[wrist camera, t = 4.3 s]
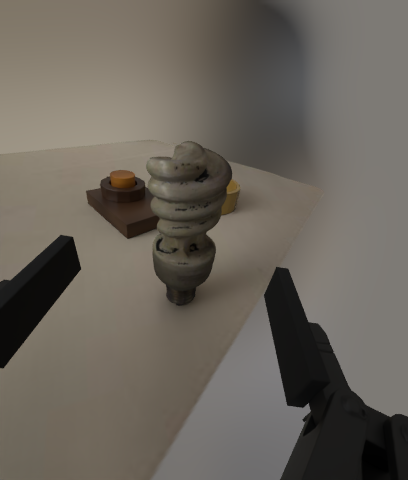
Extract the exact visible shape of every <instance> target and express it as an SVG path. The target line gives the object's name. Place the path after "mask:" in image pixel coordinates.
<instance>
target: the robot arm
mask: <svg viewBox="0 0 408 480" xmlns="http://www.w3.org/2000/svg"><path fill="white" fill-rule="evenodd" d="M80 270H81V266H80V262H79V259H78V255H77V251H76V247H75V243H74V239H73V237H70V236H64V235H60V236H59V237H58V238H57V239H56V240H55V241H54V242H53V243H51V244H50V245H49V246H48V247H47V248H46V249H45V250H44V251H43V252H41V253H40V254H39V255H38V256H37V257H36V258H35V259H34V260H33V261H32V262H30V263H29V264H28V265H27V266H26V267H25V268H24V269H23V270H22V271H20V272H19V273H18V274H17V275H16V276H15V277H14V278H13V279H12V280H3V281H1V282H0V368H4V367H5V366H6V364H7V363H8V362H9V360H10V359H11V358H12V357H13V355H14V354H15V353H16V352H17V350H18V349H19V348H20V346H21V345H22V344H23V343H24V341H25V340H26V339H27V337H28V336H29V335H30V334H31V332H32V331H33V330H34V329H35V327H36V326H37V325H38V323H39V322H40V321H41V320H42V318H43V317H44V316H45V314H46V313H47V312H48V311H49V309H50V308H51V307H52V306H53V304H54V303H55V302H56V300H57V299H58V298H59V297H60V295H61V294H62V293H63V291H64V290H65V289H66V288H67V286H68V285H69V284H70V283H71V281H72V280H73V279H74V277H75V276H76V275H77V274H78V272H79V271H80ZM264 298H265V302H266V307H267V312H268V316H269V321H270V326H271V331H272V335H273V340H274V345H275V349H276V354H277V359H278V364H279V368H280V373H281V378H282V383H283V388H284V392H285V397H286V402H287V405H288V406H295V407H302V408H303V407H305V406H306V405H307V404H308V403H309V406H310V410H311V412H310V413H309V414H308V415H307V416H305V417H304V419H303V421H304V422H305V421H306V422H305V424H304V427H303V429H302V431H301V433H300V436H299V438H298V441H297V443H296V445H295V447H294V449H293V452H292V454H291V456H290V459H289V461H288V463H287V465H286V468H285V470H284V472H283V475H282V477H281V479H280V480H408V417H407V416H404V415H402V414H395V415H393V416H392V417H389V416H387V415H385V414H383V413H381V412H379V411H376V410H374V409H372V408H370V407H368V406H367V405H365V403H364V402H363V400H362V399H361V398H360V397H359V396H358V395H357V394H356V393H354V392H353V391H351V389H350V387H349V386H348V384H347V381H346V379H345V377H344V375H343V372H342V370H341V368H340V365H339V363H338V360H337V358H336V356H335V354H334V353H333V349H332V347H331V345H330V342H329V340H328V337H327V335H326V333H325V332H324V330H323V329H322V328H321V327H320V325H319V324H316V323H309V322H308V320H307V318H306V315H305V312H304V309H303V307H302V304H301V301H300V299H299V296H298V293H297V291H296V288H295V286H294V283H293V280H292V278H291V275H290V272H289V270H288V269H286V268H280V267H276V269H275V272H274V274H273V276H272V278H271V281H270V283H269V285H268V287H267V290H266V292H265V294H264Z"/></svg>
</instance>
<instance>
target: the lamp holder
mask: <svg viewBox="0 0 408 480" xmlns="http://www.w3.org/2000/svg"><path fill="white" fill-rule="evenodd" d="M226 188H227V197H226V200H225V202H224V204H223V205H222V213H221V215H224V214H228V213H231V212H232V211H234V209H235V207H236V204H237V200H238V196H239V192H240V185H239V184H238V183H237V182H236V181H234V180H233V179H231V181H230V183H229V185H228V186H227V187H226Z"/></svg>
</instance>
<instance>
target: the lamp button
mask: <svg viewBox="0 0 408 480" xmlns="http://www.w3.org/2000/svg"><path fill="white" fill-rule="evenodd" d="M110 179H111V185H112V186H113V187H117V188H131V187H134V186H135V174H134V173H133V172H130V171H125V170H117V171H113V172H111V173H110Z"/></svg>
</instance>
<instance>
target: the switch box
mask: <svg viewBox="0 0 408 480" xmlns="http://www.w3.org/2000/svg"><path fill="white" fill-rule="evenodd" d="M100 186H101V188H99V189H94V190H88V191H86V193H87V199H88V204H90V205H91V206H92V207H93V208H94V209H95V210H96V211H97V212H98V213H100V214H101V215H102V216H103V217H104V218H105V219H106V220H107V221H109V222H110V223H111V224H112V225H113V226H114V227H115V228H116V229H117V230H119V231H120V232H121V233H122V234H123V235H124V236H125V237H126V238H131V237H134V236H136V235H139V234H142V233H145V232H147V231H150V230H153V229H156V228H157V223H158V221H159V220H160V218H159V217H158V216H157V215H156V214H154V213H153V211H152V210H151V201H152V199H153V198H154V197H155V196H153V195H152V194H151V193H150V191H149V189H148V188H146V187H145V182H144V181H143V180H141V179H139V178H137V177H135V186H134V187H131V188H117V187H113V186H112V185H111V179H110V177H107V178H105V179H103V180H101V184H100Z"/></svg>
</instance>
